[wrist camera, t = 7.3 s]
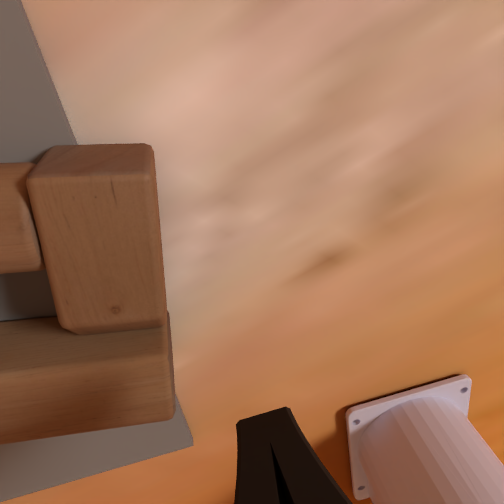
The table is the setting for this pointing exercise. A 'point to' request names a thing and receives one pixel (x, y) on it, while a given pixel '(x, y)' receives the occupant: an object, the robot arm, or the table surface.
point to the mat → (38, 287)
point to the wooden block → (85, 294)
